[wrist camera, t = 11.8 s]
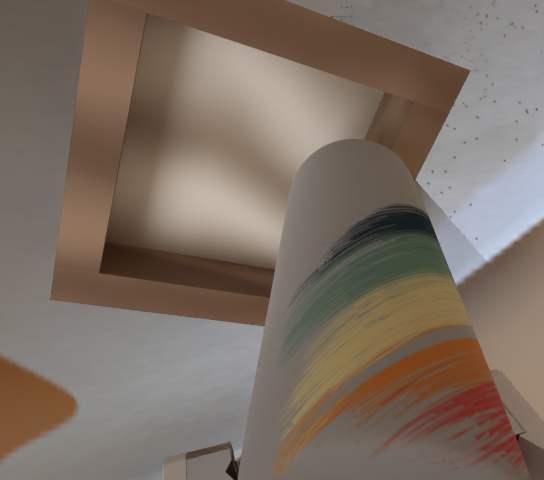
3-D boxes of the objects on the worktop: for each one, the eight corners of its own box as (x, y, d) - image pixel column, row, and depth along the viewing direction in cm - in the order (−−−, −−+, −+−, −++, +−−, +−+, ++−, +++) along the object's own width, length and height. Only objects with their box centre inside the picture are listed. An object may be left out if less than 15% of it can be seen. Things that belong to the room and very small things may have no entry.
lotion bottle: (344, 266, 23) (380, 1072, 6) (265, 190, 22) (25, 1007, 5) (439, 198, 21) (919, 1210, 4) (359, 108, 19) (581, 1182, 2)
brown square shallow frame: (320, 299, 31) (336, 335, 28) (63, 260, 25) (50, 299, 23) (432, 56, 24) (470, 70, 21) (108, -66, 18) (98, -71, 15)
